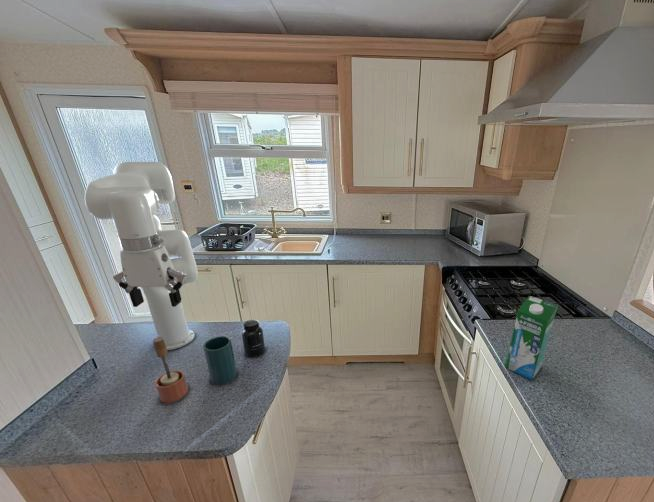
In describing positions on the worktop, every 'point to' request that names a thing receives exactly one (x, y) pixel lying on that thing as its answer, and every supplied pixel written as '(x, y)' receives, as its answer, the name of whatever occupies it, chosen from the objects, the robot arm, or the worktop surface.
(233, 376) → the cup
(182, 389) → the cup
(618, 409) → the worktop surface
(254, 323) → the supplement bottle
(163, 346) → the brush
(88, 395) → the worktop surface
